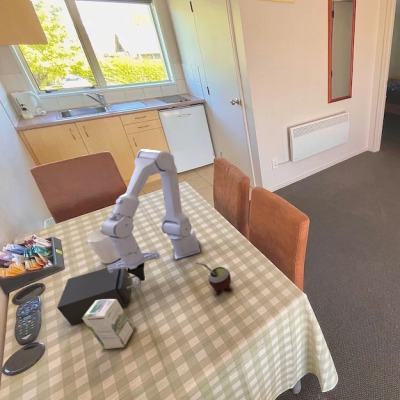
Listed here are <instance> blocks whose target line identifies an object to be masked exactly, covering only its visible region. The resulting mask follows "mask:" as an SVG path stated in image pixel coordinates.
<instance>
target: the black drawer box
mask: <svg viewBox="0 0 400 400" xmlns="http://www.w3.org/2000/svg"><path fill="white" fill-rule="evenodd" d="M119 275H120V269H118V270H115V271H114V272H112V273H109V271H108V267H105V268H101V269H97V270H94V271H90V272H87V273H83V274H80V275H76V276H74V277H71V278H68V279H67V281H66V284H65V287H64V288H63V290H62V294H61V296H60V298H59V301H58V304H57V306H56V308H57V309H58V311H59V312H60V314H61V315H62V316H63V317H64V318H65V320H66V321H67V322H68V323H69V324H70V326H74V325H77V324H79V323H82V322H84V320H83V319H82V317H83V316H84V315H85V314H86V312H87V311H88V310H89V308H90V307H91V306H92V305H93V303H94V302H95V301H96V300H102V299H117V301H118V302H119V304H120V306H121V308H122V309H123V308H126V306H127V303H125V302H124V301H123V299H122V297H121V296H120V294H119V292H118V291H117V283H118V278H119Z"/></svg>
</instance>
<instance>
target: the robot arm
mask: <svg viewBox="0 0 400 400" xmlns="http://www.w3.org/2000/svg"><path fill="white" fill-rule="evenodd" d="M133 163H134V169H133V173H132V174H131V178H130V181H129V183H128V186H127V189H126V192H125V193H124V194H121V195H119V197H118V198H117V199H116V200H115V205H114V207H113V209H112V211H111V213H110V214H109V217H108V218H106V219H105V220H104V221H103V222H102V224H101V229H102V230H101V233H102V234H104V235H107V236H109V238H110V239H111V241H112V243H113V245H114V247H115V249H116V251H117V252H118V254H119V256H120V258H119V260H117V261H115V262H113V263H110V264H108V265H107V268H108V271H109V273H112V272H114V271H115V270H118V269H123V268H126V269H127V271H128V273H129V275H132V276H133V275H135V276H136V277H138V278H139V279H140V280H141V282H144V281H145V280H146V275H145V263H146V262H149V261H152V260H159V259H160V258H161V257H160V253H159V251H158V250H157V251H152V252H151V251H150V252H142V250H141V248H140V246H139V244H138V242H137V240H136V238H135V236H134V234H133V231H134V228H135V227H134V217H135V214H136V213H137V210H138V208H139V206H140V204H141V201H140V199H139V196H140V194H141V193H142V190H143V188H144V187H145V185H146V183H147V181H148V180H149V178H150V177H151V176H154V175H157V174H158V175H160V181H161V188H162V194H163V201H164V208H165V209H164V210H165V214H164V215H163V216H162V217H161V221H162V222H161V226H160V229H161V232H162V233H164V234H165V235H167V237H169V240H170V243H171V246H172V249H173V251H174V260H179V259H180V260H181V259H183V258H186V257H190V256H193V255H196V254H200V253H201V249H200V242H199V240H198V238H197V237H198V236H197V234H196V230H195V229H192V223H191V222H190V218H189V216H188V215H186V214H185V213H184V212H183V208H182V201H181V194H180V184H179V177H178V169H177V166H176V164H175V157H174V155H173V154H171V153H170V152H169V151H165V150H154V149H146V148H143V149H140V150H138V152H137V154H136V157H135V159H134V161H133ZM136 277H135V278H136Z"/></svg>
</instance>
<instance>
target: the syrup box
mask: <svg viewBox="0 0 400 400" xmlns="http://www.w3.org/2000/svg"><path fill="white" fill-rule="evenodd" d="M82 319H83V320H84V321H83V322H84V323H85V324H86V326H87V328H88V329H89V330H90V331H91V333H92V334H93V336H94V337H95V338H96V340H97V342H99V344H100V346H101V347H102V348H103V349H104V350H109V349H119V348H120V349H121V348H125V347H126V345H127V343H128V342H129V340H130V338H131V337H132V334H133V333H134V331H135V328H134V327H133V325H132V323H131V321H130V320H129V318H128V316H127V315H126V313H125V311H124V309H123V308H121V306H120V304H119V302H118V301H117V299H102V300H96V301H95V302H94V303H93V305H92V306H91V307H90V308H89V310H88V311H87V312H86V314H85V315H84V316H83V317H82Z"/></svg>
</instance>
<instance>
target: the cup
mask: <svg viewBox="0 0 400 400" xmlns="http://www.w3.org/2000/svg"><path fill="white" fill-rule="evenodd" d="M101 230H102V228H100V229H97V230H94V231H92V232H91V233H89V234H87V236H86V237H85V242H86V243H87V245H88V247H89V249H90V250H91V251H92V252H93V253H94V254H95V255H96V257H98V259H99V260H100V262H102V264H113V263H116V262H118V261H119V260H120V259H121V258H120V256H119V254H118V252H117V251H116V249H115V247H114V245H113V243H112V241H111V239H110V238H109V236H107V235H104V234H102V233H101Z"/></svg>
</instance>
